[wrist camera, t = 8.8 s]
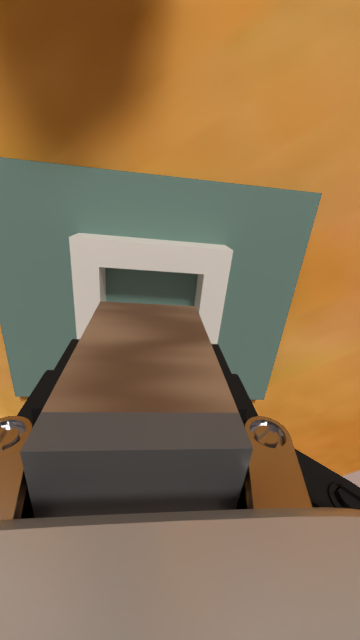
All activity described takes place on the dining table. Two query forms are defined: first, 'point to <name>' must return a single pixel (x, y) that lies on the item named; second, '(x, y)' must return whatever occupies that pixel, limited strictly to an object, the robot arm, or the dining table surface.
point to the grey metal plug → (138, 421)
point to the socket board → (145, 259)
